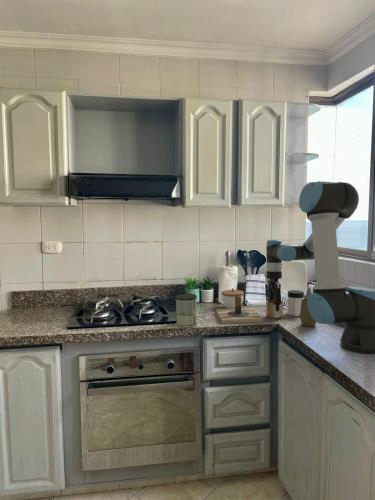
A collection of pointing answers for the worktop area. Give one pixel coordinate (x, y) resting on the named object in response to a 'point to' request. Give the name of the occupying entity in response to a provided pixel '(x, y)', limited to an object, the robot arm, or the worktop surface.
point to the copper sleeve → (272, 308)
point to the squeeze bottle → (306, 311)
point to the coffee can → (186, 310)
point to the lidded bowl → (231, 297)
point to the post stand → (238, 314)
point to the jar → (295, 302)
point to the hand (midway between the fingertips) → (274, 314)
